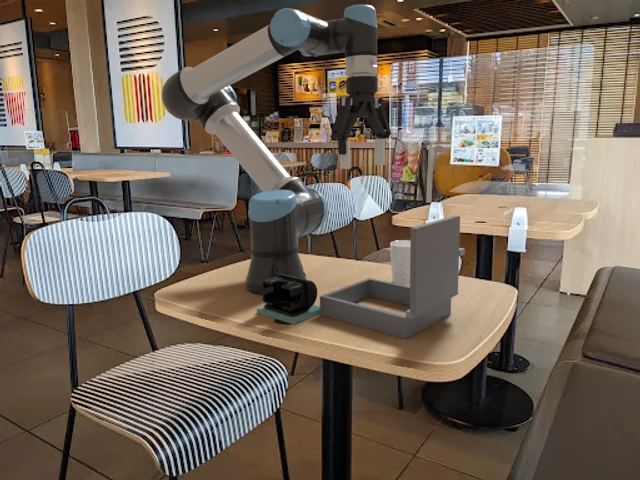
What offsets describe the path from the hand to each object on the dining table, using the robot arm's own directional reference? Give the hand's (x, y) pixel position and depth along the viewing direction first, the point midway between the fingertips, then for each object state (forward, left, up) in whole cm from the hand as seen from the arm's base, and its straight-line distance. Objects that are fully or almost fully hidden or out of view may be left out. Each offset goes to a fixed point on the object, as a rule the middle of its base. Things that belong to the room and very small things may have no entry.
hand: (363, 166), depth 125 cm
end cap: (+2, -29, -28) cm, 41 cm away
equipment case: (+20, -17, -29) cm, 39 cm away
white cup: (+10, +4, -29) cm, 31 cm away
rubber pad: (+2, -29, -29) cm, 41 cm away
